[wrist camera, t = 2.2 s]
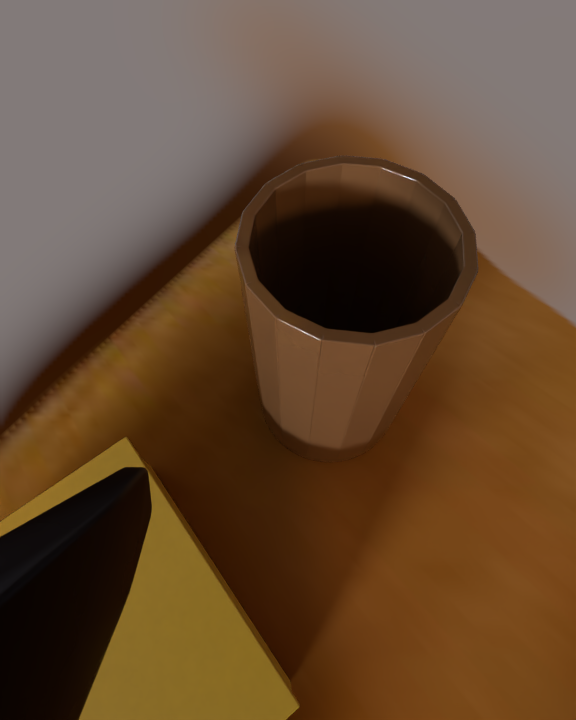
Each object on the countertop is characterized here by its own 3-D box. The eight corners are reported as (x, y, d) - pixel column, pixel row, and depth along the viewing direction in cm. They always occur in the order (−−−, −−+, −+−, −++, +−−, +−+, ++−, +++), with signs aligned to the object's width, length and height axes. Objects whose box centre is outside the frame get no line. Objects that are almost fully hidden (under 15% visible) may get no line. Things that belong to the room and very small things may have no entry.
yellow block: (298, 683, 18) (300, 706, 15) (57, 911, 16) (-13, 1008, 12) (152, 460, 22) (125, 435, 19) (-60, 609, 20) (-138, 614, 16)
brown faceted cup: (420, 407, 24) (528, 255, 13) (318, 491, 22) (344, 395, 11) (334, 318, 26) (364, 126, 15) (235, 386, 24) (190, 224, 13)
